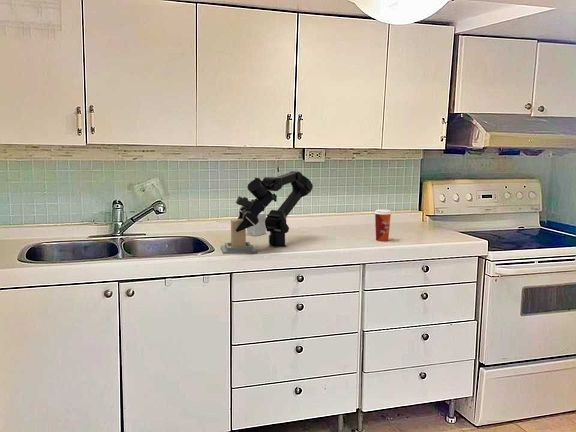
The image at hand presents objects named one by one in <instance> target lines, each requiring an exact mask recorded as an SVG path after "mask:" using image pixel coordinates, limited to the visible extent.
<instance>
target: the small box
mask: <svg viewBox="0 0 576 432" xmlns="http://www.w3.org/2000/svg"><path fill="white" fill-rule="evenodd" d="M266 217H267V213H266V212H263V211H262V212H261V213H260V214H259V215H258V217H257V218H258V219H259V222H258V223H257V224H256V225H255V224H254V223H253V225H254V226H251V227H249V228H246V236H251V237H258V236H262V235H266V234H267V230H266V226H265V219H266Z"/></svg>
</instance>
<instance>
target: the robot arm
mask: <svg viewBox="0 0 576 432" xmlns="http://www.w3.org/2000/svg"><path fill="white" fill-rule="evenodd" d="M288 184H290V185H291V186H292V187H291V188H292V191H291V193H290V194H289V195H288V196H287V197H286V199H284V201H283V203H282V204H281V205H280V206H279V207H278V209H277V210H276V209H271V210H269V213H268V214H266V219H265V226H266V233H267V232H269V235H268V245H269V246H270V247H271V248H280V247H281V248H282V247H287V245H286V234H287V233H289V229H290V226H289V225H288V224H287V217H288V216H289V214H290V213H291V211H292V210H293V209H294V208H295V206H296V205H297V204H298V203H299V201H300V200H301V198H303V197H305V196H308V195H309V194H310V193H311V192H312V190H313V187H314V185H313V183H312V182H311V180H310V178H308V177H306V176H305V175H303V173H302V172H300V171H297V170H296V171H294V170H293V171H290V172H287V173H285V174H282V175H277V176H265V177H263V179H261V178H259V177H254V179H253V180H251V181H249V183H248V184H247V187H246V188H247V190H248V191H249V192H250V193H251V194H252V196H253V197H255V198H253V199H251V200H249V198H248V197H245V196H244V197H243V196H240V195H238V197H237V199H236V201H235V203H236V204H237V205H238V206H241V207H239V210H238V217H237V219H243V220H242V222H241V223H240V224H239V226H238V227H237V229H236V232H239V231H241V230H244V229H246V230H247V228H249V227H251V226H254V225H253V223H254V224H255V225H256V224H257V223H258V222H259V219H258V218H257V217H258V215H259V214H260V213H261V212H262V213H263V212H264V211H265V209H266V208H267V207H268V206H269V205H270V203H271V202H273V201H274V202H275V203H276V202H277V200H278V198H277V197H278V196H277V194H275V193H273V192H278V191H279V190H281V189H282V188H283V186H285V185H288Z"/></svg>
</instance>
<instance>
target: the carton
mask: <svg viewBox="0 0 576 432" xmlns="http://www.w3.org/2000/svg"><path fill="white" fill-rule="evenodd" d="M242 220H243V219H238V218H232V219H230V243H231V247H246V242H247V238H246V236H247V228H246V229H244V230H241V231H239V232H236V229H237V227H238V226H239V224H240V223H241V222H242Z"/></svg>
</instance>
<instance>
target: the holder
mask: <svg viewBox="0 0 576 432" xmlns="http://www.w3.org/2000/svg"><path fill="white" fill-rule="evenodd" d="M220 251H221V252H222V254H223V255H227V254H251V253H252V254H257V253H258V250H257V249H256V247H255V246H254V244H251V243H250V241H246V247H231V242H224V245H220Z"/></svg>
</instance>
